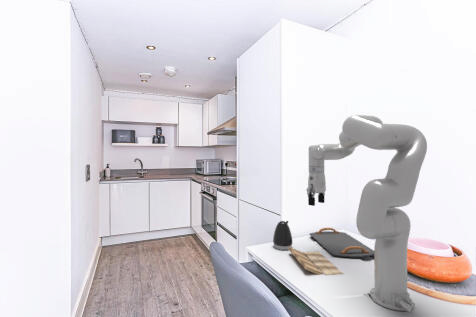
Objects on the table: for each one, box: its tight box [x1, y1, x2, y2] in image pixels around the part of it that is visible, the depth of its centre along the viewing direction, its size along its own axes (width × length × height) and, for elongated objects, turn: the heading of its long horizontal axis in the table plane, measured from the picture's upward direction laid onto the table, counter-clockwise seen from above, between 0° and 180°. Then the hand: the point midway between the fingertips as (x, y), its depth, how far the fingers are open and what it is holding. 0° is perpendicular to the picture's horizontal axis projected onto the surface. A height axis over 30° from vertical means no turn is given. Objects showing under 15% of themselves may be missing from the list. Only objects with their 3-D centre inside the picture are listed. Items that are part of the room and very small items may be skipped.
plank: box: [288, 246, 324, 275], centre depth 109 cm, size 22×8×1 cm, turn 7°
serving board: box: [309, 227, 374, 259], centre depth 133 cm, size 39×23×6 cm, turn 3°
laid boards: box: [302, 251, 344, 276], centre depth 110 cm, size 24×8×1 cm, turn 7°
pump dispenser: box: [272, 220, 293, 251], centre depth 129 cm, size 10×10×15 cm
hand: (316, 203), depth 121 cm, fingers open, 9 cm apart
